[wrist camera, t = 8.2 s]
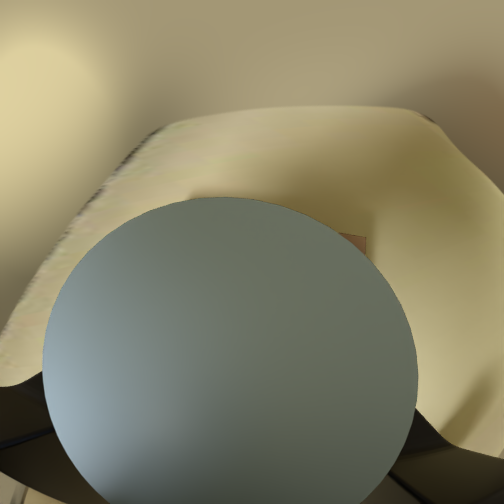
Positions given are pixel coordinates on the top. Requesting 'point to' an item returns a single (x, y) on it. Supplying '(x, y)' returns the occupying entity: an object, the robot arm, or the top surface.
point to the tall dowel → (229, 360)
